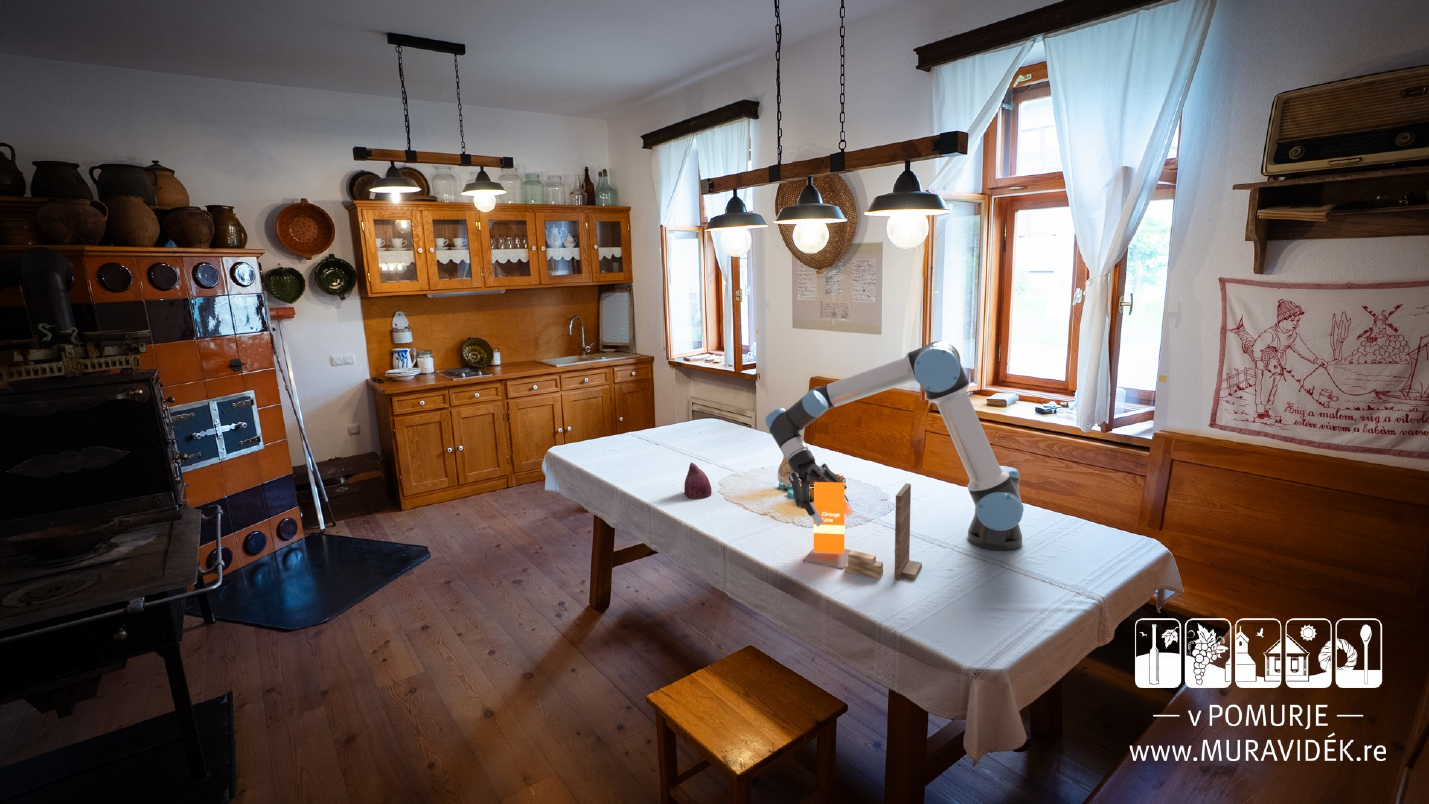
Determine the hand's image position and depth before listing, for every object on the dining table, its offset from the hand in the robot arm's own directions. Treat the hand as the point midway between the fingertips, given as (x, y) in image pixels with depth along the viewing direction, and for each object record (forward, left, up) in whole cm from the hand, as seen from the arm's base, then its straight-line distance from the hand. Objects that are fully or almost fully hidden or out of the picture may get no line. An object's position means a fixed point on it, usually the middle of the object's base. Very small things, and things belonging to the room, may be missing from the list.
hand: (835, 519), depth 190 cm
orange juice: (+3, -1, -10) cm, 10 cm away
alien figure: (+26, -50, -13) cm, 58 cm away
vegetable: (+65, -31, -13) cm, 74 cm away
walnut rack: (-14, 0, -13) cm, 19 cm away
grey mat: (+2, -1, -13) cm, 13 cm away
